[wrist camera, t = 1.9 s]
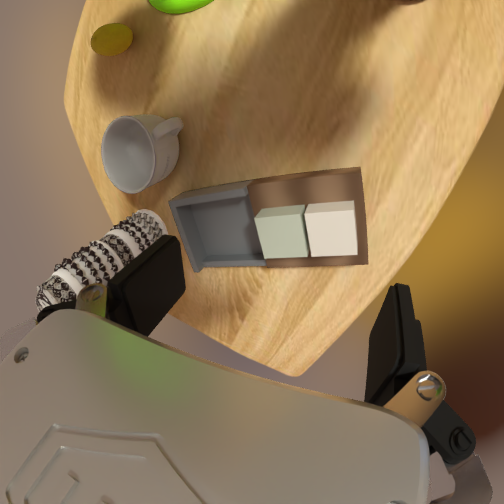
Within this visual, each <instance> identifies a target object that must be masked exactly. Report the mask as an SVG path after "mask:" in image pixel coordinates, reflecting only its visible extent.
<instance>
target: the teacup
mask: <svg viewBox="0 0 504 504" xmlns="http://www.w3.org/2000/svg"><path fill="white" fill-rule="evenodd" d="M183 126H184V125H183V122H182V120H181V119H180V118H179V117H172V118H169V119H167V120H165V119H164V118H162V117H160V116H157V115H151V114H144V115H134V116H121V117H119V118H116V119H115V120H113V121H112V122H111V123H110V124H109V126H108V127H107V129H106V131H105V133H104V136H103V139H102V146H101V154H102V161H103V165H104V169H105V172H106V174H107V176H108V177H109V179H110V181H111V182H112V183H113V184H114V186H116V187H117V188H118V189H119V190H121V191H123V192H125V193H129V194H135V193H138V192H141V191H143V190H144V189H145V188H147V187H150V186H152V185H154V184H156V183H158V182H160V181H161V180H163V179H164V178H166V177H167V176H168V175H169V174H170V173H171V172H172V171H173V169H174V168H175V166H176V164H177V161H178V157H179V141H178V137H177V135H178V133H179V132H180V131H181V130H182V128H183Z"/></svg>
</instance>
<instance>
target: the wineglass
mask: <svg viewBox="0 0 504 504" xmlns="http://www.w3.org/2000/svg"><path fill="white" fill-rule="evenodd" d="M212 1H214V0H149V2H150V4H151V5H152V6H154V7H155V8H156V9H157V10H159V11H162V12H165V13H171V14H180V13H185V12H190V11H194V10H196V9H198V8H201V7H203V6H206V5H207V4H209V3H210V2H212Z"/></svg>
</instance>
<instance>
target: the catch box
mask: <svg viewBox="0 0 504 504" xmlns="http://www.w3.org/2000/svg"><path fill="white" fill-rule="evenodd" d="M253 180H254V179H253ZM253 180H247V181H241V182H235V183H229V184H223V185H218V186H212V187H207V188H202V189H197V190H192V191H187V192H183V193H181V194H179V195H178V196H176V197H175V198H173V199H172V200H170V201H168V203H169V205H170V208H171V211H172V214H173V217H174V220H175V222H176V225H177V228H178V231H179V233H180V236H181V239H182V242H183V244H184V247H185V250H186V252H187V255H188V257H189V260H190V263H191V265H192V268H193V270H194V272H200V271H201V270H202V269H203V267H234V266H267V264H266V260H265V259H264V255H263V251H262V247H261V243H260V239H259V235H258V231H257V227H256V224H255V220H254V218H255V216H254V212H253V209H252V205H251V201H250V197H249V193H248V189H247V185H248V184H249V183H251V182H252V181H253Z"/></svg>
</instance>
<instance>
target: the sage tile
mask: <svg viewBox="0 0 504 504" xmlns="http://www.w3.org/2000/svg"><path fill="white" fill-rule="evenodd" d="M304 213H305V205H294V206H284V207H274V208H265V209H261V211H260V212H259V213H258V214H257V215H256V217H255V218H254V220H255V224H256V227H257V231H258V235H259V239H260V243H261V247H262V251H263V255H264V259H266V258H293V257H308V254H309V251H310V244H309V238H308V232H307V226H306V221H305V215H304Z"/></svg>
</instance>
